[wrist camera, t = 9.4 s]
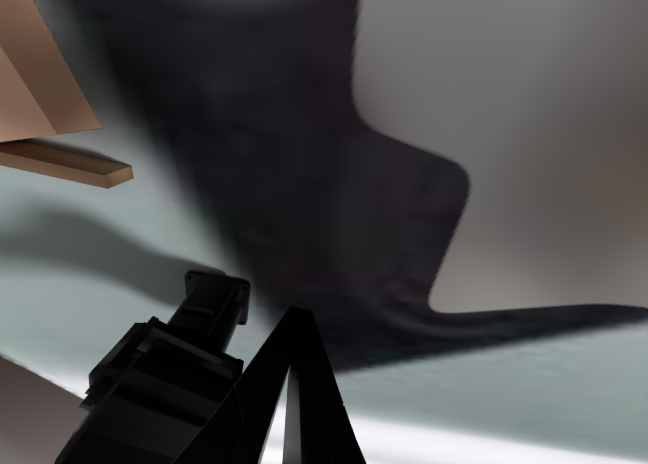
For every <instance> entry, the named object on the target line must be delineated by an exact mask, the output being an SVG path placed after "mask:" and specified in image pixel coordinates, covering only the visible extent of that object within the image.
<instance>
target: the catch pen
mask: <svg viewBox="0 0 648 464" xmlns="http://www.w3.org/2000/svg"><path fill="white" fill-rule="evenodd" d="M0 165H2V166H7V167H11V168H16V169H20V170H25V171H29V172H34V173H38V174H43V175H48V176H52V177H57V178H61V179H66V180H70V181H75V182H80V183H84V184H89V185H93V186H98V187H102V188H107V189H108V188H111V187H113V186H116V185H118V184H120V183H123V182H125V181H128V180H130V179H133V172H132V167H131V166H129V165H124V164H120V163H116V162H111V161H107V160H103V159H98V158H94V157H90V156H85V155H81V154H76V153H72V152H68V151H63V150H59V149H55V148H50V147H46V146H42V145H37V144H33V143H28V142H24V141H20V140H12V141H4V142H0Z"/></svg>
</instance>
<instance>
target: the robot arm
mask: <svg viewBox="0 0 648 464" xmlns="http://www.w3.org/2000/svg"><path fill="white" fill-rule="evenodd" d="M185 284H186V295H187V297H186V298H185V299H184V301H183V302H182V304H181V305H180V306H179V308H178V309H177V310H176V312H175V313H174V315H173V316H172V317H171V319H170V320H169V321H168V323H167V324H165V323H163V322H161V321H159V319H158V318H156V317H154V316H152V318H151V319H150V320H149V321H148V322H147V323H145V322H144V323H135V324H134V325H133V326H132V327H131V328H130V330H129V331H128V332H127V333H126V334H125V335H124V336H123V338H122V339H121V340H120V341H119V342H118V343H117V344H116V345H115V346H114V347H113V349H112V350H111V351H110V352H109V353H108V354H107V355H106V356H105V357H104V358H103V359H102V360H101V361H100V362H99V363H98V365H97V366H96V367H95V368H94V369H93V370H92V371H91V373H90V374H89V389H88V390H87V391H86V392H85V394H88V396H87V397H86V398H85V399H84V401H83V402H82V403H81V404H80V406H79V407H78V409H81V410H84V411H88V412H89V413H88V415H87V416H86V417H85V418H84V420H83V421H82V422H81V424H80V425H79V426H78V427H77V429H76V430H75V431H74V433H73V434H72V436H71V438H70V439H69V440H68V442H67V443H66V445H65V447H64V448H63V450H62V451H61V453H60V454H59V456H58V457H57V459H56V461H55V463H54V464H260V463H261V460H262V456H263V453H264V450H265V446H266V443H267V440H268V436H269V433H270V430H271V426H272V423H273V420H274V416H275V413H276V410H277V406H278V403H279V400H280V396H281V393H282V390H283V386H284V383H285V380H286V376H287V373H288V369H289V375H288V389H287V404H286V419H285V433H284V448H283V462H282V464H366V461H365V459H364V457H363V454H362V452H361V449H360V447H359V445H358V442H357V440H356V437H355V435H354V432H353V429H352V426H351V424H350V421H349V418H348V415H347V412H346V409H345V406H343V401H342V398H341V395H340V392H339V389H338V386H337V383H336V380H335V377H334V374H333V371H332V368H331V365H330V362H329V359H328V356H327V353H326V350H325V347H324V344H323V341H322V338H321V335H320V332H319V329H318V327H317V324H316V321H315V318H314V315H313V312H312V310H310V309H304V308H302V309H300V308H299V307H294V306H291V307H289V309H288V310H287V311H286V313H285V314H284V316H283V317H282V318H281V320H280V321H279V323H278V324H277V326H276V327H275V328H274V330H273V331H272V333H271V334H270V335H269V337H268V338H267V340H266V341H265V342H264V344H263V345H262V347H261V348H260V350H259V351H258V352H257V354H256V355H255V357H254V358H253V359H252V361H251V362H250V364H249V365H248V366H247V368H246V369H245V371H244V372H243V374H242V370H243V364H244V361H243V360H241V359H239V358H238V359H236V358H234V357H232V356H230V355H228V354H226V353H225V352H226V349H227V347H228V345H229V342H230V340H231V338H232V335H233V333H234V330H235V328H236V326H237V324H238V325H245V324H246V322H247V319H248V309H249V299H250V288H251V285H250V283H248V282H245V281H240V280H235V279H230V278H225V277H220V276H215V275H210V274H205V273H199V272H194V271H188V272H187V273H186V274H185ZM245 286H246V287H245ZM289 365H290V366H289Z"/></svg>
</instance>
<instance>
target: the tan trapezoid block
mask: <svg viewBox="0 0 648 464" xmlns="http://www.w3.org/2000/svg"><path fill="white" fill-rule="evenodd" d="M99 128H102V127H101V126H100V124H99V122H98V120H97V118H96V116H95V114H94V113H93V111H92V109H91V107H90V105H89V103H88V102H87V100H86V98H85V96H84V94H83V92H82V91H81V89H80V87H79V85H78V83H77V81H76V80H75V78H74V76H73V74H72V72H71V70H70V68H69V67H68V65H67V63H66V61H65V59H64V57H63V56H62V54H61V52H60V50H59V48H58V46H57V45H56V43H55V41H54V39H53V37H52V35H51V34H50V32H49V30H48V28H47V26H46V24H45V23H44V21H43V19H42V17H41V15H40V13H39V11H38V10H37V8H36V6H35V4H34V2H33V0H0V142H4V141H12V140H19V139H27V138H35V137H43V136H51V135H58V134H65V133H72V132H79V131H85V130H92V129H99Z"/></svg>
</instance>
